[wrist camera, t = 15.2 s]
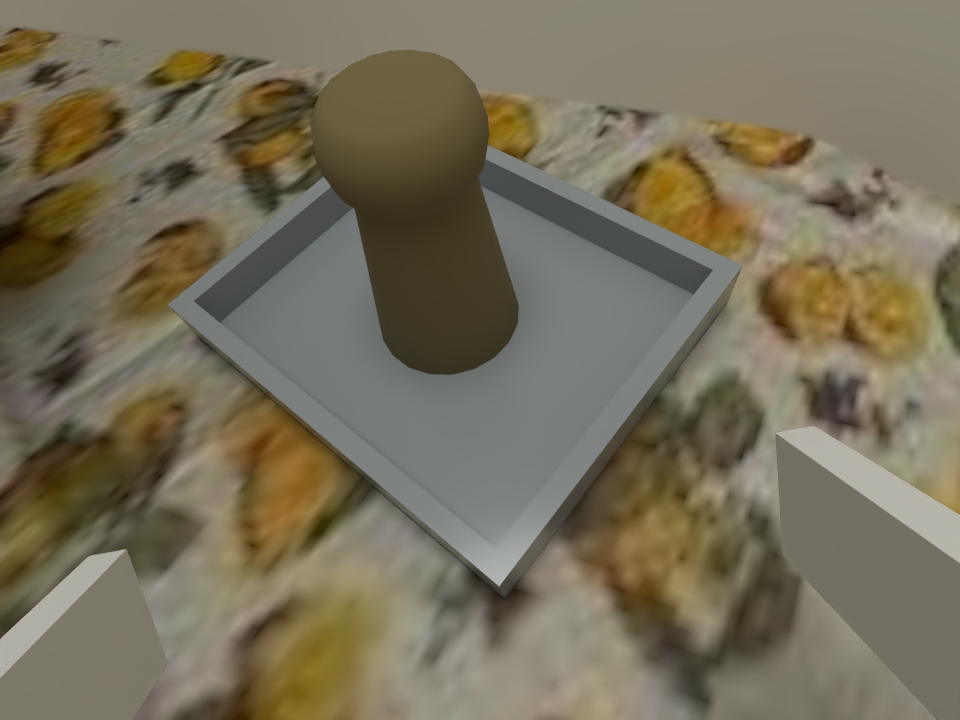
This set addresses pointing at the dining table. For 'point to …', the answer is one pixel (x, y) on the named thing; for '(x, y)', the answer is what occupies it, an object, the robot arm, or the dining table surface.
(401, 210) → the cork
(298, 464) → the dining table surface
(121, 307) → the dining table surface
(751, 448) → the dining table surface
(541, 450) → the tray
